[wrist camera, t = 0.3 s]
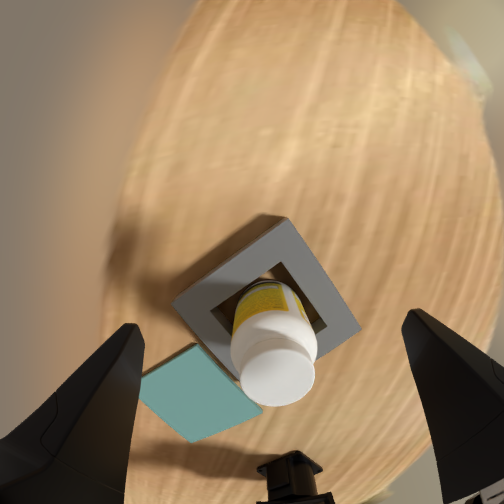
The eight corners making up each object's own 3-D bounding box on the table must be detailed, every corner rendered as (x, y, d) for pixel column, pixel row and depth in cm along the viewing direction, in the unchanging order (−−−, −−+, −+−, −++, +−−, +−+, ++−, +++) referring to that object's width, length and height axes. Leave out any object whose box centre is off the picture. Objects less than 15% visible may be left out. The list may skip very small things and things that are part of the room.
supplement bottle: (224, 319, 23) (207, 391, 13) (257, 266, 22) (260, 316, 12) (278, 347, 23) (290, 425, 14) (313, 298, 23) (349, 361, 13)
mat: (262, 409, 25) (262, 412, 24) (191, 440, 26) (190, 443, 25) (197, 343, 23) (196, 345, 23) (129, 384, 24) (127, 386, 24)
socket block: (354, 319, 23) (361, 329, 21) (254, 383, 24) (254, 395, 22) (285, 216, 21) (288, 218, 19) (177, 295, 23) (170, 303, 21)
